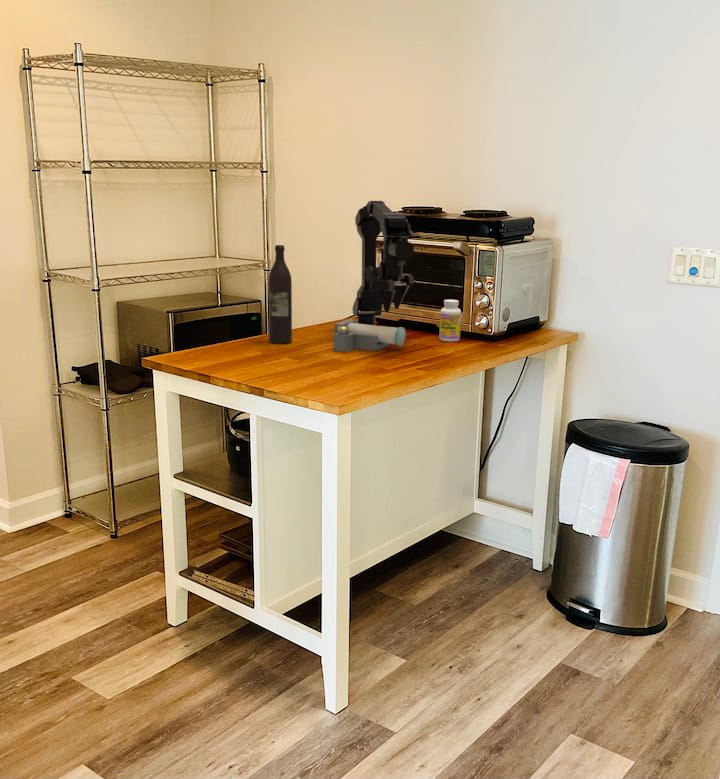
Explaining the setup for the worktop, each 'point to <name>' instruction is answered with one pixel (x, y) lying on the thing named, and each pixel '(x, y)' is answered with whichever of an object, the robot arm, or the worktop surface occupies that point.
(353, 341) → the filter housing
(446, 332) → the supplement bottle
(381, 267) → the robot arm
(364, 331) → the cylinder
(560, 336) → the worktop surface
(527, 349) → the worktop surface
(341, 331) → the release plunger
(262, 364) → the worktop surface
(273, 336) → the wine bottle
